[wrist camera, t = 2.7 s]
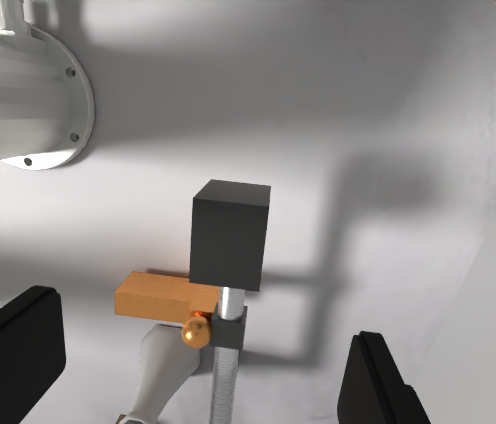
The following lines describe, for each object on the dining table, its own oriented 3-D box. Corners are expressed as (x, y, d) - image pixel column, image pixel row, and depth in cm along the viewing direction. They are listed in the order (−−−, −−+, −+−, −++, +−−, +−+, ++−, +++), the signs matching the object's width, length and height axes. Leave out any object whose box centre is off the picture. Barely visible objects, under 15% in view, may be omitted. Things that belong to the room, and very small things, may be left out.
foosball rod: (131, 151, 30) (28, 179, 17) (272, 166, 29) (269, 206, 17) (134, 356, 37) (61, 480, 24) (248, 372, 36) (233, 508, 24)
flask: (212, 339, 36) (189, 420, 27) (189, 384, 39) (160, 474, 29) (152, 313, 36) (108, 386, 27) (133, 361, 38) (85, 443, 29)
